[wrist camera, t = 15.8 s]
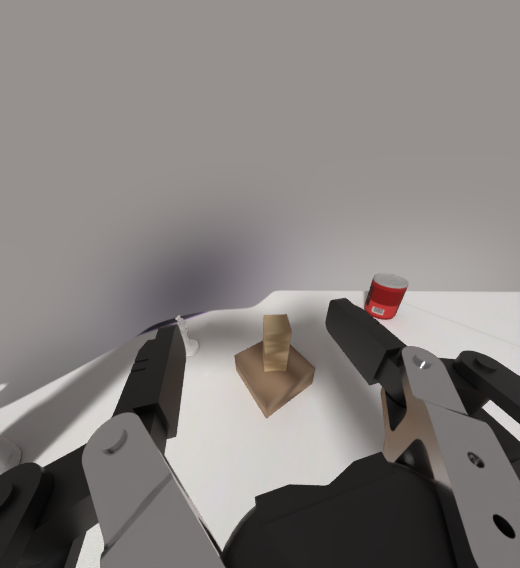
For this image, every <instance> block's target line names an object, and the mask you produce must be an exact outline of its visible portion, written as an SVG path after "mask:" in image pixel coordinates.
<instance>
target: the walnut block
mask: <svg viewBox="0 0 520 568" xmlns="http://www.w3.org/2000/svg"><path fill="white" fill-rule="evenodd" d="M235 363H236V370H237V372H238V374H239V375H240V377H241V379H242V380H243V382H244V383H245V385H246V387H247V388H248V390H249V391H250V393H251V395H252V396H253V398H254V400H255V401H256V403H257V404H258V406H259V408H260V409H261V411H262V413H263V414H264V416H265V417H266V418H268V417H269V416H270V415H272V414H273V413H274V412H276V411H277V410H278V409H279V408H281V407H282V406H283V405H285V404H286V403H287V402H289V401H290V400H291V399H292V398H294V397H295V396H296V395H298V394H299V393H300V392H302V391H303V390H304V389H305V388H307V387H308V386H309V385H311V384H312V381H313V376H314V371H315V368H314V367H313V366H312V365H311V364H310V363H309V362H308V361H307V360H306V359H305V358H304V357H303V356H302V355H301V354H300V353H298V352H297V351H296V350H295V349H294V348H293V347H292V346H291V345H290V346H289V354H288V361H287V368H286V371H273V372H264V362H263V341H261V342H259V343H257V344H256V345H254V346H252V347H250V348H248V349H246V350H244V351H242V352H240V353H238V354H236V355H235Z"/></svg>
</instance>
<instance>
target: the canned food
mask: <svg viewBox="0 0 520 568" xmlns="http://www.w3.org/2000/svg"><path fill="white" fill-rule="evenodd" d="M407 286H408V281H407V280H406V279H404V278H402V277H400V276H397V275H394V274H387V273H379V274H376V275H374V277H373V280H372V283H371V287H370V290H369V293H368V297H367V300H366V303H365V311H367V312H368V313H369V314H370V315H371V316H373V317H375V318H378V319H384V320H387V319H392V318H393V317H394V316H395V315H396V313H397V310H398V308H399V306H400V303H401V301H402V299H403V296H404V294H405V292H406V289H407Z"/></svg>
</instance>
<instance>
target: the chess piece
mask: <svg viewBox="0 0 520 568" xmlns="http://www.w3.org/2000/svg"><path fill="white" fill-rule="evenodd" d="M175 319H176V320H178V322H177V323H176V324H178V326H179V328H180V332H181V335H182V338H183V341H184V345H185V349H186V357H188V356H191V355H193V354H195V353H196V352H197V351H198V349H199V344H198V342H197V341H196V340H194V339H189V338H188V336H187V332H188V329H187V328H185V325H186V322H185V321H184V320H183V318H181V317H180V316H177V317H176V318H175Z"/></svg>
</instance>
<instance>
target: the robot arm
mask: <svg viewBox="0 0 520 568" xmlns="http://www.w3.org/2000/svg"><path fill="white" fill-rule="evenodd" d="M326 328H327V330H328V332H329V333H330V335H331V336H332V337H333V339H334V340H335V341H336V343H337V344H338V345H339V346H340V348H341V349H342V350H343V352H344V353H345V354H346V356H347V357H348V358H349V359H350V361H351V362H352V363H353V365H354V366H355V367H356V369H357V370H358V371H359V372H360V374H361V375H362V376H363V378H364V379H365V380H366V382H367V383H368V384H369V385H373V384H376V383H380V384H381V386H382V388H381V399H382V408H383V416H384V425H385V443H384V447H383V453H382V452H379V453H376V454H373V455H370V456H368V457H365V458H362V459H359V460H356V461H354V462H353V463H351V464H350V465H349V466H348V467H347V468H346V469H345V470H344V471H343V472H342V473H341V474H340V475H339V476H338V477H337V478H336V479H335V480H334V481H332V482H331V483H330V484H329V485H326V486H320V485H292V484H289V485H287V486H284V487H281V488H278V489H275V490H273V491H270V492H267V493H264V494H261V495H259V496H256V497H255V503H256V506H255V507H253V508H252V509H251V510H250V511H249V512H248V513H247V514H246V515H245V516H244V517H243V518H242V519H241V521H240V522H239V523H238V525H237V526H236V528H235V529H234V530H233V532H232V534H231V536H230V537H229V539H228V541H227V543H226V545H225V547H224V549H223V551H222V550H221V548H220V546H219V545H218V543H217V541H216V540H215V538H214V536H213V535H212V533H211V531H210V530H209V528H208V526H207V525H206V523H205V521H204V520H203V518H202V516H201V515H200V513H199V511H198V510H197V508H196V507H195V505H194V504H193V502H192V500H191V499H190V497H189V495H188V494H187V492H186V490H185V489H184V487H183V485H182V483H181V482H180V480H179V478H178V477H177V475H176V473H175V472H174V470H173V468H172V467H171V465H170V463H169V462H168V460H167V458H166V457H165V455H164V453H165V447H166V440H167V439H169V438H173V437H176V435H177V427H178V419H179V411H180V403H181V395H182V387H183V379H184V371H185V363H186V349H185V345H184V341H183V338H182V335H181V332H180V328H179V326H178V324H175V325H169V326H162V327H159V329H158V332H157V335H156V338H155V339H153V340H148V341H147V342H146V343H145V344H144V345H143V346H142V348H141V349H140V350H139V352H138V354H137V357H136V359H135V364H133V367H132V369H131V373H130V374H129V377H128V379H127V381H126V384H125V386H124V389H123V391H122V394H121V396H120V399H119V401H118V404H117V406H116V409H115V411H114V413H113V416H112V417H111V419H109V420H108V421H106V422H105V423H104V424H103V425H101V426H100V427H99V428H98V429H97V430H96V431H95V433H94V434H93V435H92V436H91V438H90V439H89V441H88V443H86V444H85V445H83V446H81V447H80V448H78V449H76V450H74V451H72V452H70V453H69V454H67V455H65V456H63V457H61V458H59V459H58V460H56V461H54V462H52V463H50V464H48V465H47V466H45V467H41V466H39V465H38V464H36V463H24V464H20V465H19V463H20V460H21V450H20V449H19V448H18V446H16V445H15V444H13V443H11V442H10V441H8V440H7V439H5V438H4V437H2V436H1V435H0V568H75V567H76V564H77V561H78V557H79V554H80V551H81V548H82V544H83V541H84V538H85V535H86V531H88V530H89V529H90V528H92V527H93V526H94V525H96V524H97V523H99V524H100V528H101V531H102V535H103V539H104V551H103V552H102V554H101V558H100V568H520V441H518V440H517V439H516V438H515V437H514V436H513V435H512V434H511V433H509V432H508V431H507V430H506V429H505V428H504V427H503V426H502V425H501V424H499V423H498V422H497V421H496V420H495V419H494V418H493V417H492V416H490V415H489V414H488V413H487V412H486V411H485V410H484V409H483V408H481V407H483V406H484V405H485V404H486V403H487V402H488V401H489V400H491V401H493V402H494V403H495V404H496V405H497V406H499V407H500V408H501V409H502V410H503V411H505V412H506V413H507V414H508V415H509V416H511V417H512V418H513V419H514V420H515V421H517V422H518V423H519V424H520V376H519V375H517V374H516V373H514V372H513V371H511V370H510V369H508V368H507V367H505V366H504V365H502V364H501V363H499V362H498V361H496V360H494V359H493V358H491V357H489V356H486V355H484V354H481V353H478V352H475V351H462V352H461V353H460V354H459V356H458V357H457V358H456V359H446V358H438V357H436V356H435V355H434V354H432V353H430V352H429V351H427V350H425V349H422V348H419V347H414V346H406V345H405V344H404V343H403V342H402V341H401V340H399V339H398V338H397V337H396V336H395V335H394V334H392V333H391V332H390V331H389V330H388V329H387V328H385V327H384V326H383V325H382V324H380V322H378V321H377V320H376V319H374V318H373V317H372V316H371V315H370V314H369V313H368V312H367V311H365V310H363V309H362V308H360V307H358V306H355V305H354V304H352V303H351V302H350V301H349V300H348V299H346V298H341V299H335V300H331V301H330V303H329V308H328V312H327V317H326Z"/></svg>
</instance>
